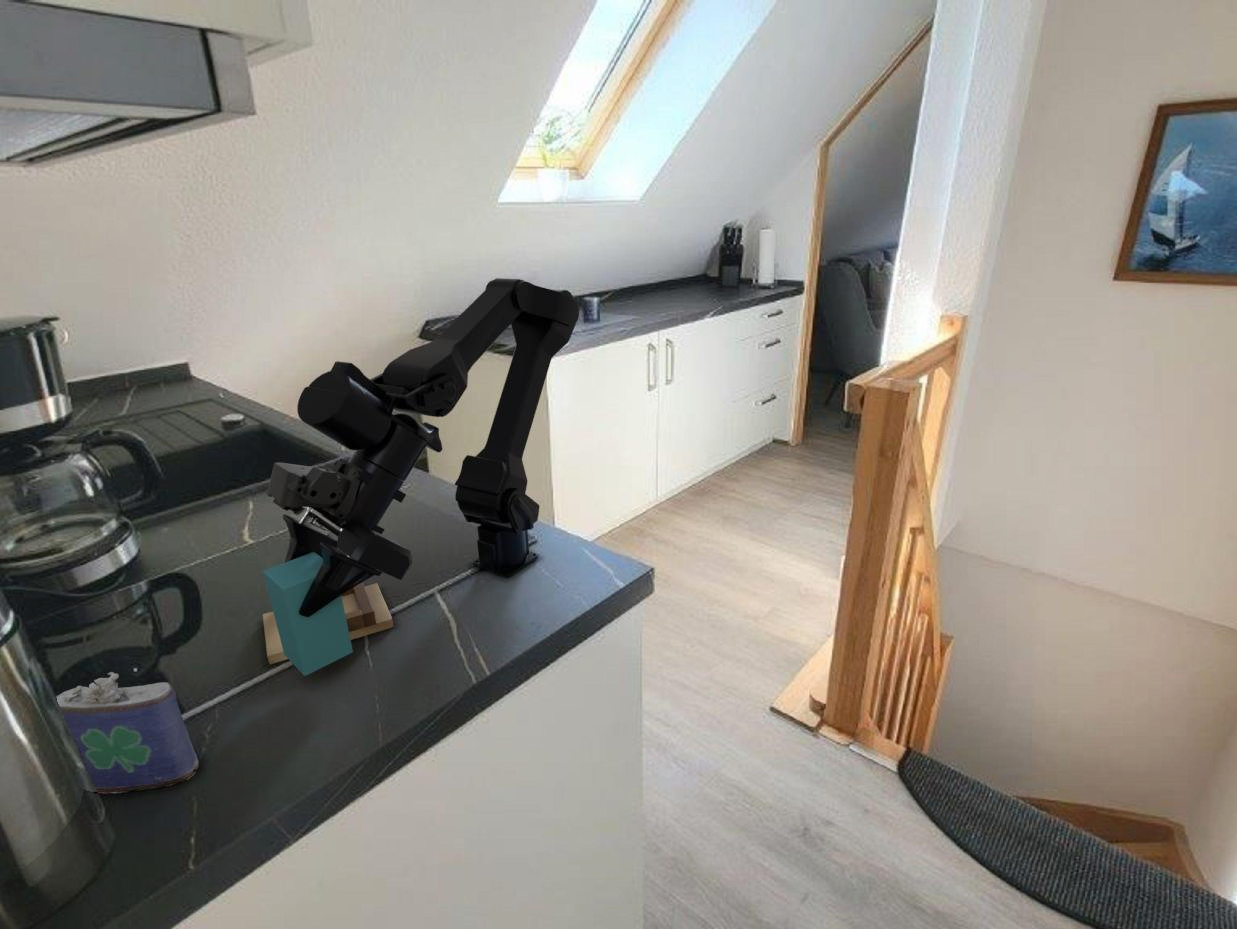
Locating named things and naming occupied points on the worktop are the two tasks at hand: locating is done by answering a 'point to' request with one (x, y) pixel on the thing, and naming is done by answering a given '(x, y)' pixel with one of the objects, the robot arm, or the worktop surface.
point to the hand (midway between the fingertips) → (291, 604)
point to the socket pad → (361, 614)
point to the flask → (129, 734)
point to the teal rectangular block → (302, 636)
